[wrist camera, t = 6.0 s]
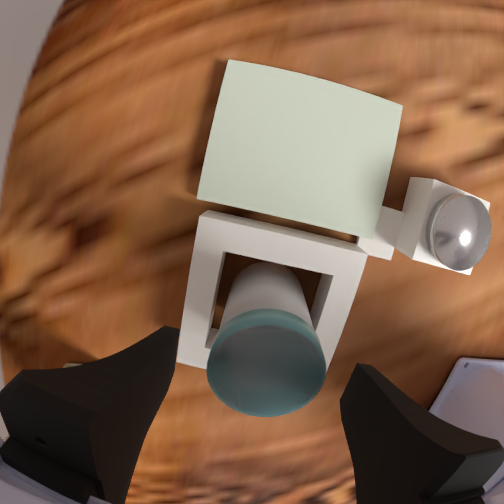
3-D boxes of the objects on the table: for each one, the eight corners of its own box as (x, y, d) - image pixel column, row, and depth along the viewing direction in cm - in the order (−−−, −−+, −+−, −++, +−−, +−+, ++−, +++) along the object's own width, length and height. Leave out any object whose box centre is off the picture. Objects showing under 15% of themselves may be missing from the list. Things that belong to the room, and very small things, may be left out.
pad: (396, 108, 16) (402, 105, 15) (367, 236, 18) (372, 239, 17) (230, 64, 16) (228, 59, 15) (200, 197, 18) (196, 198, 17)
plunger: (464, 200, 17) (498, 207, 13) (448, 259, 18) (478, 277, 14) (415, 181, 17) (446, 185, 13) (398, 245, 18) (425, 262, 14)
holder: (463, 197, 17) (490, 203, 14) (398, 377, 21) (412, 401, 18) (225, 127, 17) (218, 119, 14) (185, 341, 20) (174, 366, 17)
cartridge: (312, 269, 19) (342, 335, 11) (292, 336, 20) (305, 423, 12) (236, 252, 19) (217, 310, 11) (222, 321, 20) (199, 404, 12)
